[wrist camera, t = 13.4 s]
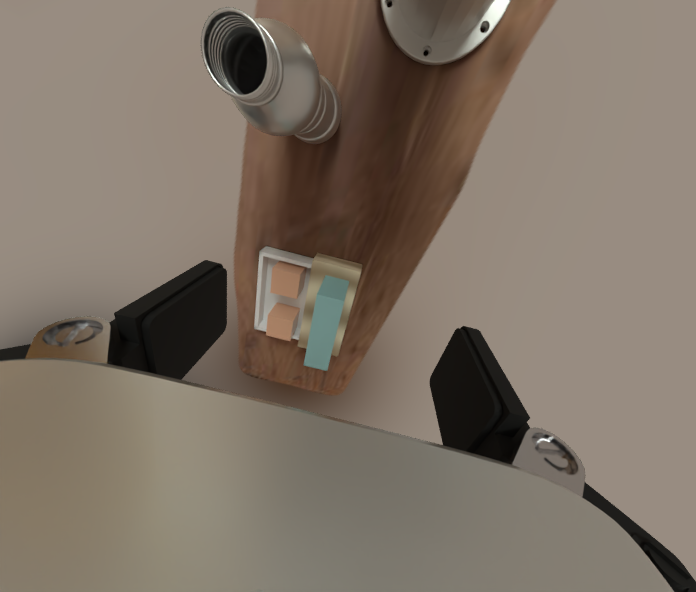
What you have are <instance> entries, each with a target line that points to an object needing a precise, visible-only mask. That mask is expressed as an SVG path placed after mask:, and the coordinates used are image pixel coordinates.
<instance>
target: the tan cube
mask: <svg viewBox="0 0 696 592" xmlns="http://www.w3.org/2000/svg"><path fill="white" fill-rule="evenodd" d="M306 270H307V267H304V266H300V265H296V264H292V263H288V262H284V261H279V262H278V263H277V264H276V265H275V266H274V267H273V268H272V278H271V290H270V293H274V294H278V295H282V296H286V297H290V298H294V299H297V298H298V296H299V295H300V293H301V291H302V290H303V288H304V283H305V277H306Z"/></svg>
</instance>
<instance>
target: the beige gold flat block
mask: <svg viewBox="0 0 696 592" xmlns="http://www.w3.org/2000/svg"><path fill="white" fill-rule="evenodd" d="M361 271H362V264H359V263H355V262H351V261H347V260H343V259H339V258H336V257H332V256H328V255H324V254H320V253H317V254H316V255H315V257H314V259H313V261H312V267H311V273H310V278H309V284H308V290H307V296H306V301H305V307H304V313H303V319H302V324H301V330H300V336H299V341H298V347H302V348H306V349H307V344H308V339H309V334H310V328H311V323H312V317H313V312H314V307H315V301H316V296H317V293H318V291H319V288H320V286H321V284H322V282H323V280H324V278H325V276H326V275H327V276H331V277H335V278H339V279H343V280H347V281H349V285H348V289H347V293H346V297H345V301H344V305H343V309H342V313H341V317H340V321H339V325H338V329H337V333H336V337H335V341H334V345H333V349H332V353H331V355H333V356H337V357H338V354H339V350H340V347H341V343H342V340H343V336H344V332H345V329H346V325H347V322H348V318H349V314H350V311H351V307H352V304H353V300H354V296H355V293H356V289H357V286H358V282H359V278H360V275H361Z"/></svg>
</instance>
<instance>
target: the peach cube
mask: <svg viewBox="0 0 696 592" xmlns="http://www.w3.org/2000/svg"><path fill="white" fill-rule="evenodd" d="M299 312H300V308H298V307H294V306H290V305H286V304H282V303H278V302H277V303H276V304H275V306H274V307H273V308H272V310H271V311H270V313H269V314H268V318H267V329H266V335H267V336H271V337H275V338H279V339H283V340H287V341H291V339H292V336H293V334H294V332H295V330H296V328H297V325H298V318H299Z"/></svg>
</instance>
